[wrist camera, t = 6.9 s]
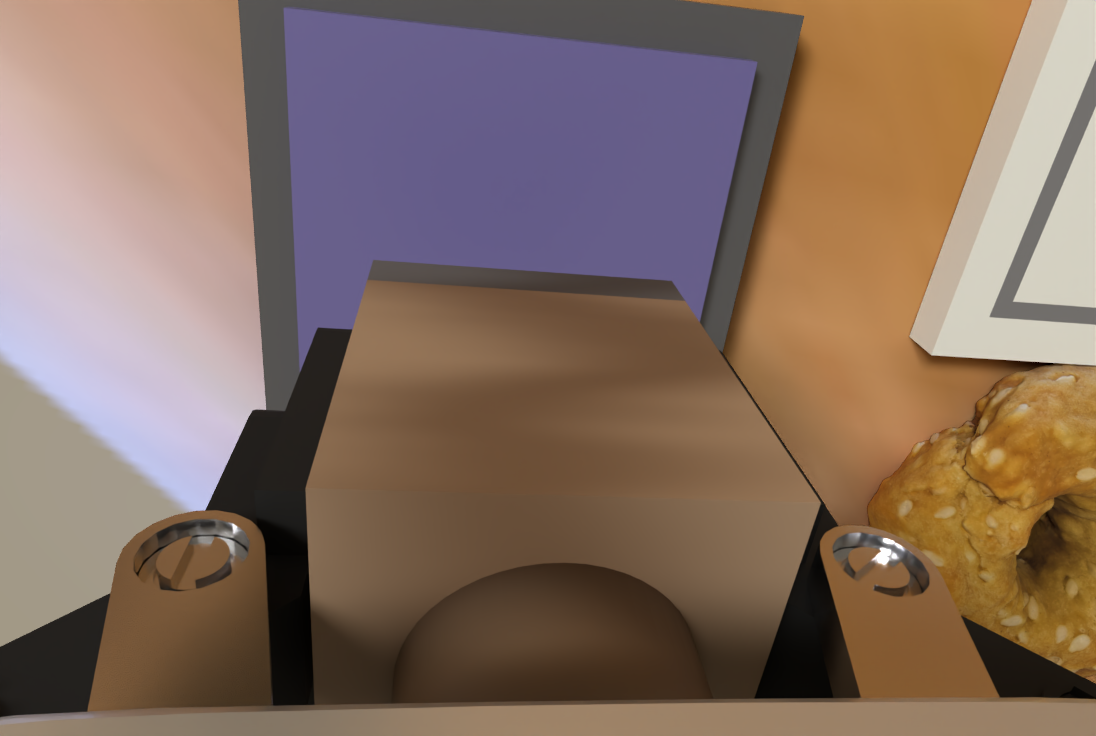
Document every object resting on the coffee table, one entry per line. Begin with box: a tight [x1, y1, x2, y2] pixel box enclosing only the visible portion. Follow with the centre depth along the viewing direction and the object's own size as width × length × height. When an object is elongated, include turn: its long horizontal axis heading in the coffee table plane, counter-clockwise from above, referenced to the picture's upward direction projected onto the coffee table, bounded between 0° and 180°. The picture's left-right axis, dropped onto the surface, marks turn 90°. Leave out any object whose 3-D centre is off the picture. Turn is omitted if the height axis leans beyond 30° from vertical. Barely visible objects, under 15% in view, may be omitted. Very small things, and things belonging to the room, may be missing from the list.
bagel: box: [867, 363, 1096, 678], centre depth 24 cm, size 10×11×5 cm
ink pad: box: [238, 0, 804, 411], centre depth 19 cm, size 12×12×2 cm
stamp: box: [305, 260, 821, 705], centre depth 9 cm, size 4×4×8 cm
